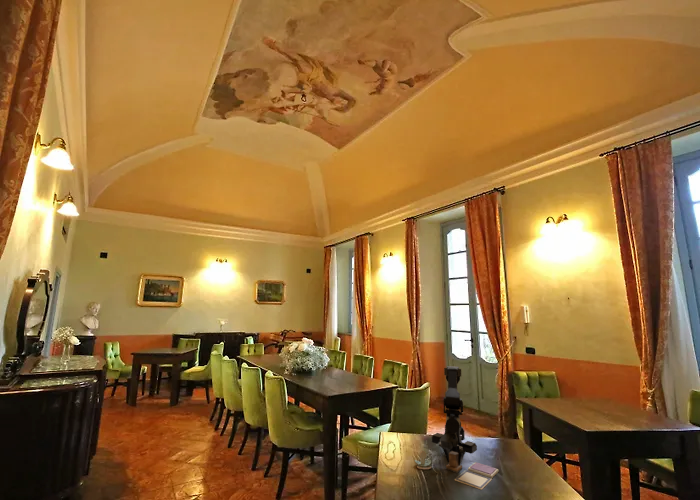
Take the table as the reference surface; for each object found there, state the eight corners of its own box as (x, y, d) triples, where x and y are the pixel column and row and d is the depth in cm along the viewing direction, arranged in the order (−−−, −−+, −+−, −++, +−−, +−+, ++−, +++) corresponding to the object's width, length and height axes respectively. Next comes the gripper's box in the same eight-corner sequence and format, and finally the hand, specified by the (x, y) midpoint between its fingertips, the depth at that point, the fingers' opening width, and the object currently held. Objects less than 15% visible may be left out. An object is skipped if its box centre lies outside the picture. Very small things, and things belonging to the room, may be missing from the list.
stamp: (446, 469, 152) (445, 453, 153) (451, 465, 156) (450, 449, 157) (457, 473, 149) (456, 456, 150) (462, 469, 153) (461, 453, 154)
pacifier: (434, 470, 151) (429, 463, 157) (434, 455, 152) (429, 449, 158) (417, 470, 150) (413, 464, 156) (417, 455, 151) (413, 449, 157)
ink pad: (468, 470, 151) (468, 467, 152) (475, 464, 157) (475, 461, 158) (491, 478, 145) (491, 474, 145) (498, 471, 151) (498, 468, 151)
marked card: (454, 480, 142) (454, 478, 142) (465, 471, 151) (465, 469, 151) (481, 489, 135) (481, 488, 135) (491, 479, 144) (491, 478, 144)
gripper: (425, 424, 155) (425, 463, 153) (466, 435, 143) (467, 477, 141) (437, 419, 164) (437, 455, 161) (476, 428, 151) (478, 468, 149)
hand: (453, 463), depth 153 cm, fingers open, 5 cm apart
